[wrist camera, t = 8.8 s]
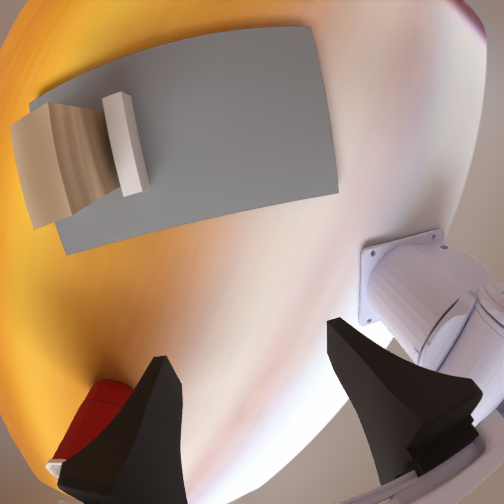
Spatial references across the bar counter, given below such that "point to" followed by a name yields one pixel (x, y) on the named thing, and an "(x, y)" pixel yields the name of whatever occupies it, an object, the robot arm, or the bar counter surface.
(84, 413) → the plastic cup
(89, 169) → the wooden block
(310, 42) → the clip board
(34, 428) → the bar counter surface
